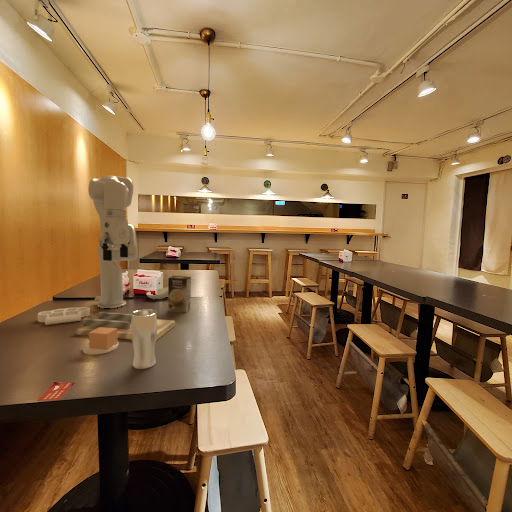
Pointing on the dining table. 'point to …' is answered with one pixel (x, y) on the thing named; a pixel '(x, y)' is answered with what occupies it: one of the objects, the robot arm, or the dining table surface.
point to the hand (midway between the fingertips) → (116, 258)
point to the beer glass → (143, 337)
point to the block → (103, 338)
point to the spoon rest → (158, 294)
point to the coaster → (98, 350)
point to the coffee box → (179, 293)
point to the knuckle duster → (63, 315)
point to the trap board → (119, 325)
